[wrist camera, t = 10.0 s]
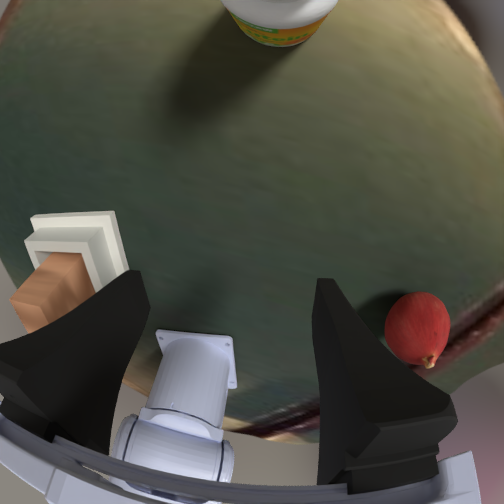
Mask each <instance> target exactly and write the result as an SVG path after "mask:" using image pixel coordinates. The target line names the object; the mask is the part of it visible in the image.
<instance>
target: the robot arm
mask: <svg viewBox="0 0 504 504" xmlns="http://www.w3.org/2000/svg"><path fill="white" fill-rule="evenodd" d="M149 311H150V304H149V301H148V298H147V294H146V291H145V287H144V284H143V280H142V277H141V273H140V271H136V270H127V271H125V272H124V273H122V274H121V275H119V276H118V277H116V278H115V279H114V280H112V281H111V282H110V283H108V284H107V285H106V286H104V287H103V288H102V289H100V290H99V291H98V292H96V293H95V294H94V295H93V296H91V297H90V298H88V299H87V300H86V301H84V302H83V303H81V304H80V305H79V306H77V307H76V308H74V309H73V310H71V311H70V312H68V313H67V314H65V315H64V316H62V317H60V318H59V319H57V320H55V321H53V322H52V323H50V324H48V325H46V326H44V327H42V328H40V329H38V330H36V331H34V332H32V333H29V334H27V335H25V336H22V337H20V338H17V339H14V340H11V341H8V342H5V343H1V344H0V393H1V395H2V396H3V397H4V399H3V401H2V402H1V401H0V463H2V464H3V465H4V466H5V467H7V468H8V469H9V470H10V471H12V472H13V473H14V474H15V475H17V476H18V477H20V478H21V479H22V480H24V481H25V482H27V483H28V484H29V485H31V486H32V487H34V488H35V489H37V490H38V491H40V492H41V493H43V494H45V495H44V497H45V499H46V501H47V502H48V503H50V504H221V503H222V502H223V503H232V504H481V497H480V491H479V485H478V480H477V475H476V469H475V465H474V460H473V456H472V452H471V451H466V452H463V453H460V454H457V455H454V456H451V457H448V458H445V459H443V460H440V461H438V462H437V460H436V455H437V454H438V453H439V447H438V443H439V442H440V441H441V440H442V439H443V438H445V437H446V436H447V435H448V434H449V433H450V432H451V431H452V430H453V429H454V428H455V426H456V425H457V422H458V419H457V416H456V412H455V408H454V405H453V402H452V400H451V397H450V395H448V394H447V393H445V392H443V391H442V390H440V389H438V388H437V387H435V386H433V385H432V384H430V383H429V382H427V381H426V380H424V379H423V378H422V377H420V376H419V375H417V374H416V373H415V372H413V371H412V370H411V369H410V368H408V367H407V366H406V365H405V364H404V363H402V362H401V361H400V360H399V359H398V358H397V357H395V356H394V355H393V354H392V353H391V352H390V351H389V350H388V349H387V348H386V347H385V346H384V345H383V344H382V343H381V342H380V341H379V340H378V339H377V338H376V336H375V335H374V334H373V333H372V332H371V331H370V329H369V328H368V327H367V326H366V325H365V323H364V322H363V321H362V319H361V318H360V317H359V315H358V314H357V313H356V311H355V310H354V309H353V307H352V306H351V304H350V303H349V302H348V300H347V299H346V297H345V296H344V294H343V293H342V291H341V289H340V288H339V286H338V285H337V283H336V281H335V280H334V279H331V278H317V286H316V292H315V299H314V306H313V312H312V338H313V346H314V353H315V360H316V367H317V374H318V381H319V391H320V443H319V462H318V463H319V464H318V476H317V485H314V486H267V485H249V484H237V483H230V481H231V477H232V472H233V465H234V450H233V448H232V446H231V445H230V443H229V441H227V440H222V437H223V430H222V429H221V428H222V423H223V417H224V411H225V405H226V399H227V393H228V388H231V389H235V388H237V378H236V369H235V359H234V350H233V339H232V338H231V337H230V336H224V335H211V334H199V333H188V332H178V331H169V330H160V329H158V330H157V331H156V337H157V340H158V343H159V345H160V348H161V351H162V353H163V358H162V360H161V363H160V366H159V369H158V372H157V374H156V377H155V380H154V383H153V386H152V389H151V392H150V394H149V397H148V400H147V403H146V406H145V408H144V407H142V408H141V411H140V414H139V416H137V415H135V414H131V415H130V416H128V417H125V418H124V419H123V421H122V423H121V425H120V427H119V429H118V432H117V435H116V438H115V441H114V445H113V449H112V455H111V457H110V456H108V455H109V447H110V437H111V428H112V423H113V417H114V411H115V407H116V402H117V398H118V393H119V390H120V387H121V383H122V379H123V376H124V373H125V371H126V368H127V366H128V363H129V361H130V359H131V357H132V354H133V352H134V350H135V348H136V345H137V343H138V341H139V339H140V336H141V334H142V332H143V330H144V327H145V324H146V321H147V318H148V314H149ZM227 343H228V344H227ZM82 465H83V466H86V467H88V468H91V469H93V470H96V471H98V472H101V473H104V474H106V475H109V481H108V480H106V479H105V478H103V477H102V476H101V475H99V474H98V473H95V472H93V471H91V470H89V469H87V468H85V467H83V466H82Z"/></svg>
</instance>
